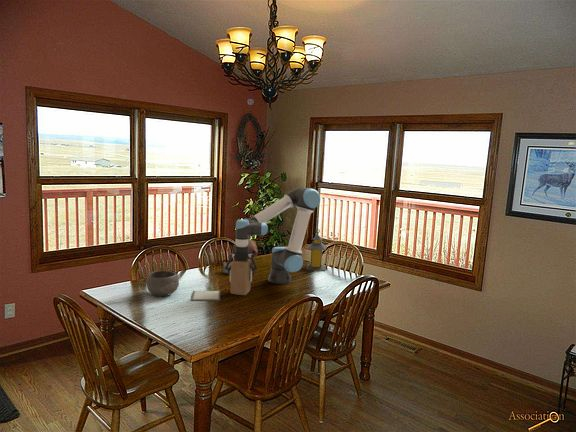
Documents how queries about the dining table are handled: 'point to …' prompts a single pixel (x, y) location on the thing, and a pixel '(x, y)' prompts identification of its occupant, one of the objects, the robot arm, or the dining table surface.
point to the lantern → (316, 254)
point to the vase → (251, 249)
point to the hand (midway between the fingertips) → (240, 280)
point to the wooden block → (240, 277)
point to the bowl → (162, 282)
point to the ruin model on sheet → (224, 267)
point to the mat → (206, 296)
